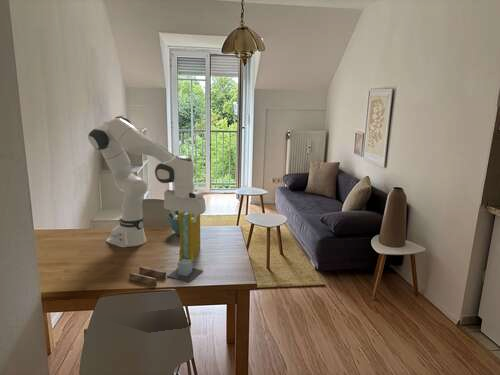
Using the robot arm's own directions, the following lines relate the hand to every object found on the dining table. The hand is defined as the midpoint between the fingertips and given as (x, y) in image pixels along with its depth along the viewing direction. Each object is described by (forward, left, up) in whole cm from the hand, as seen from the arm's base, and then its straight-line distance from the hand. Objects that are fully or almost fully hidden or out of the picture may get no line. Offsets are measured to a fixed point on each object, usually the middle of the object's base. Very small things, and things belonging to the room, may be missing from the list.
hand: (184, 220), depth 172 cm
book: (-8, +19, -25) cm, 33 cm away
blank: (+2, -3, -25) cm, 25 cm away
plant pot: (-28, +43, -26) cm, 58 cm away
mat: (+2, -3, -25) cm, 25 cm away
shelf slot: (-11, -14, -25) cm, 31 cm away
